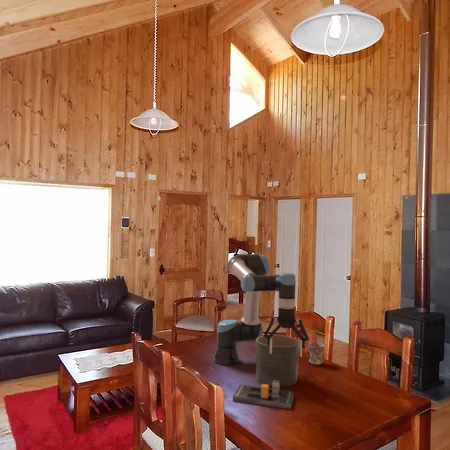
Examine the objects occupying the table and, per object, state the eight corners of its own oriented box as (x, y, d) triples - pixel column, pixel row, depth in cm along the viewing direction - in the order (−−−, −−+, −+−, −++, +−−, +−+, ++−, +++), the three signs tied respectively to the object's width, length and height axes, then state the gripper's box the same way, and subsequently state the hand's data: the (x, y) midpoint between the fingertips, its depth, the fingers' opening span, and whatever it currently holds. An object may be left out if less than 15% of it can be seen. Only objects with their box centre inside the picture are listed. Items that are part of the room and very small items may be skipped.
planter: (302, 376, 211) (303, 338, 211) (291, 391, 191) (292, 349, 191) (263, 368, 221) (264, 332, 221) (249, 382, 200) (249, 342, 201)
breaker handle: (260, 397, 177) (261, 386, 177) (262, 395, 180) (262, 384, 180) (267, 398, 176) (267, 387, 176) (268, 395, 179) (268, 384, 179)
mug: (318, 359, 238) (319, 342, 238) (327, 365, 229) (327, 346, 230) (301, 361, 234) (301, 343, 235) (309, 366, 226) (309, 348, 226)
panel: (232, 400, 179) (233, 385, 179) (239, 388, 192) (240, 374, 192) (290, 409, 172) (290, 393, 172) (293, 396, 185) (293, 381, 185)
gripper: (258, 307, 178) (257, 354, 178) (314, 310, 173) (313, 359, 173) (260, 304, 186) (259, 349, 185) (314, 307, 180) (313, 354, 180)
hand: (285, 354), depth 179 cm, fingers open, 13 cm apart
